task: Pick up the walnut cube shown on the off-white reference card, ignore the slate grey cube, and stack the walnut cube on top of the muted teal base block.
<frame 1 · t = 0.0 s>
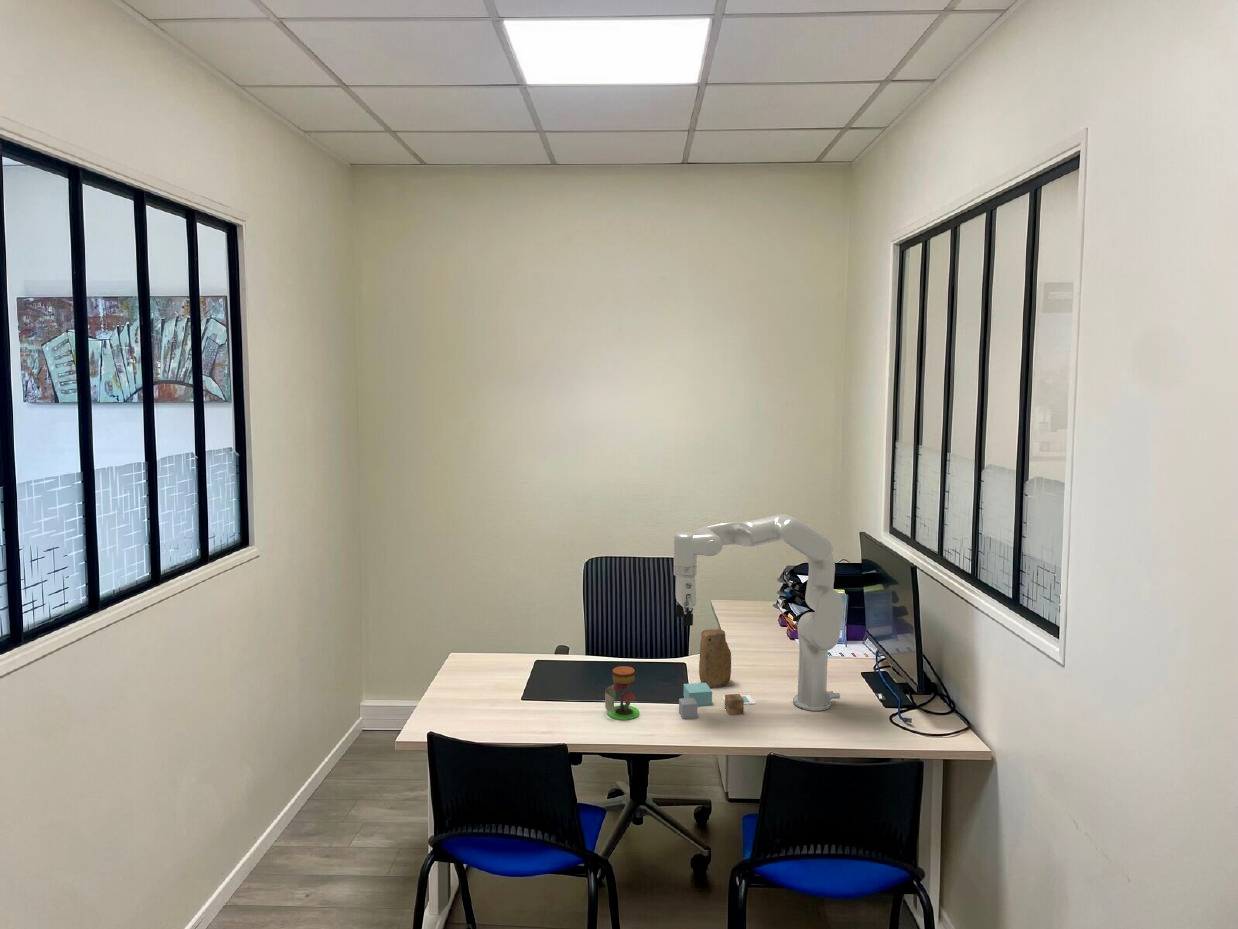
hand: (684, 620, 273), 31 cm above the table, tool pointing down, fingers open, 9 cm apart
green-based stack: (622, 713, 275), on the table
walnut cube: (734, 711, 277), on the table
slate grey cube: (688, 715, 274), on the table
reference card: (738, 701, 285), on the table
brown piece: (714, 684, 301), on the table
teal base block: (697, 701, 285), on the table
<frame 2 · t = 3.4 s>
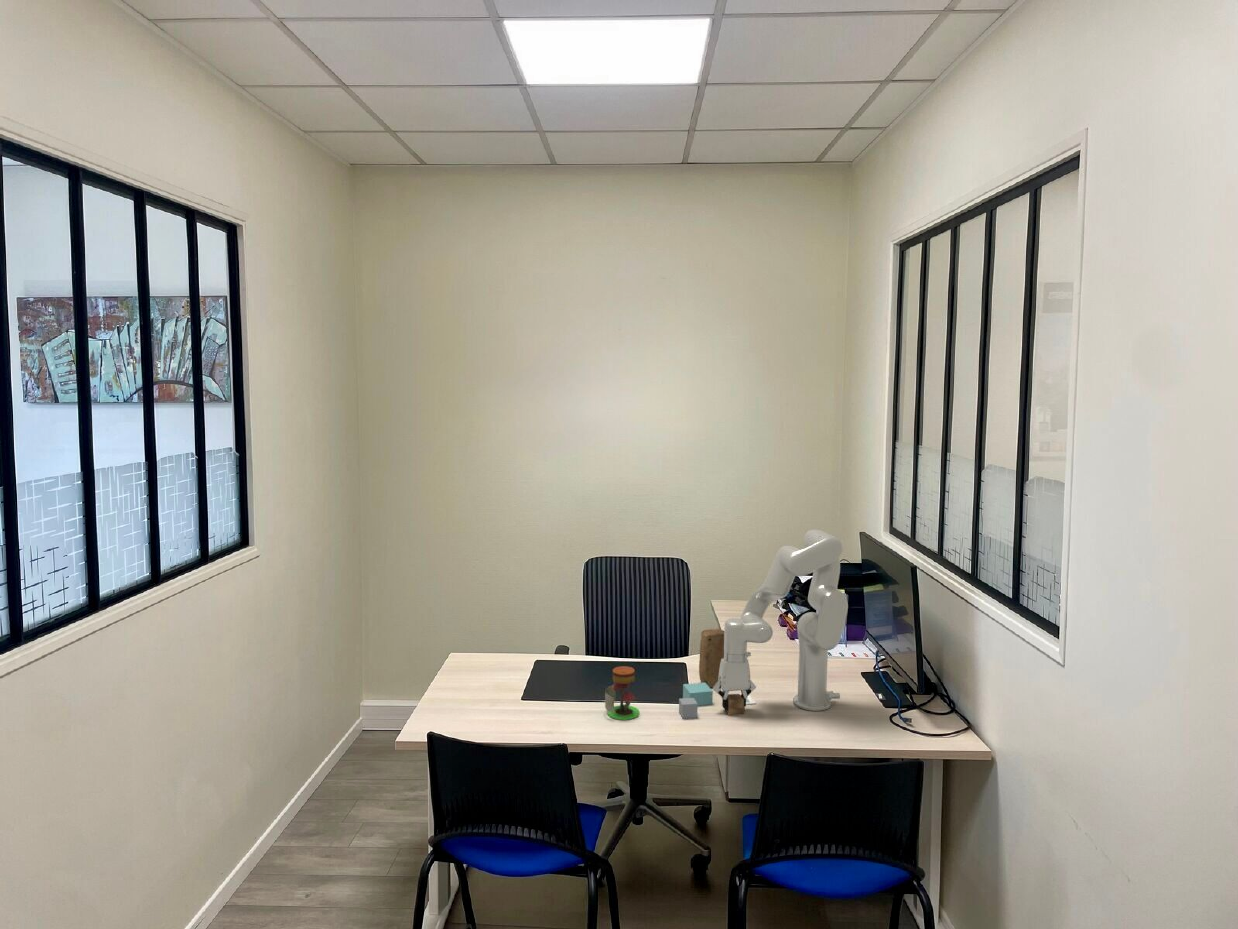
hand: (734, 708, 277), 1 cm above the table, tool pointing down, fingers closed on walnut cube, 5 cm apart
walnut cube: (733, 711, 277), on the table, touching gripper
everything else where it was.
when the fingers open (7 cm above the table, at t = 7.8 s): walnut cube drops 2 cm, resting on teal base block.
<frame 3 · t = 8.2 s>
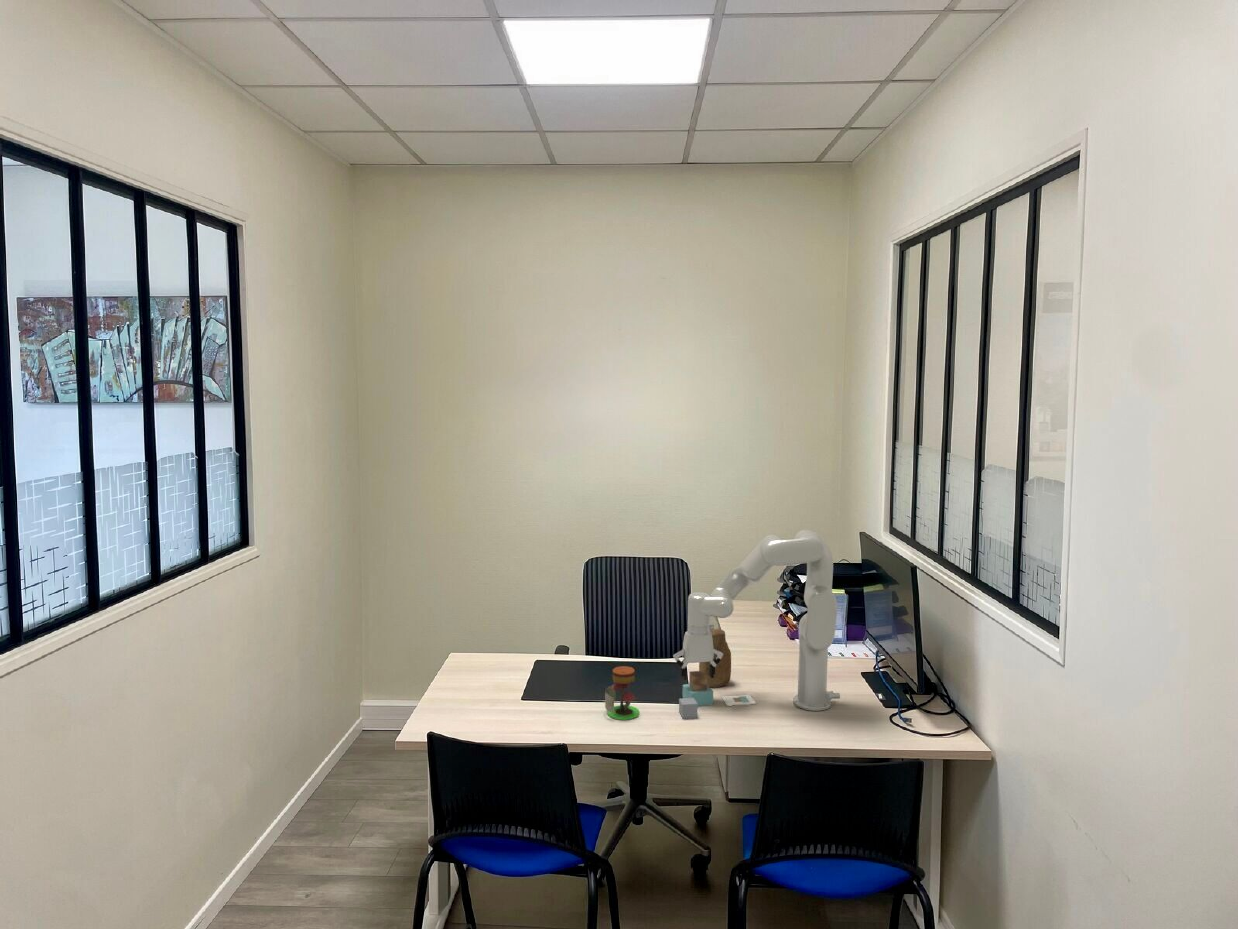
hand: (697, 677, 284), 8 cm above the table, tool pointing down, fingers open, 9 cm apart
walnut cube: (698, 687, 285), point 5 cm above the table, touching teal base block
teal base block: (697, 701, 285), on the table, touching walnut cube
everything else where it was.
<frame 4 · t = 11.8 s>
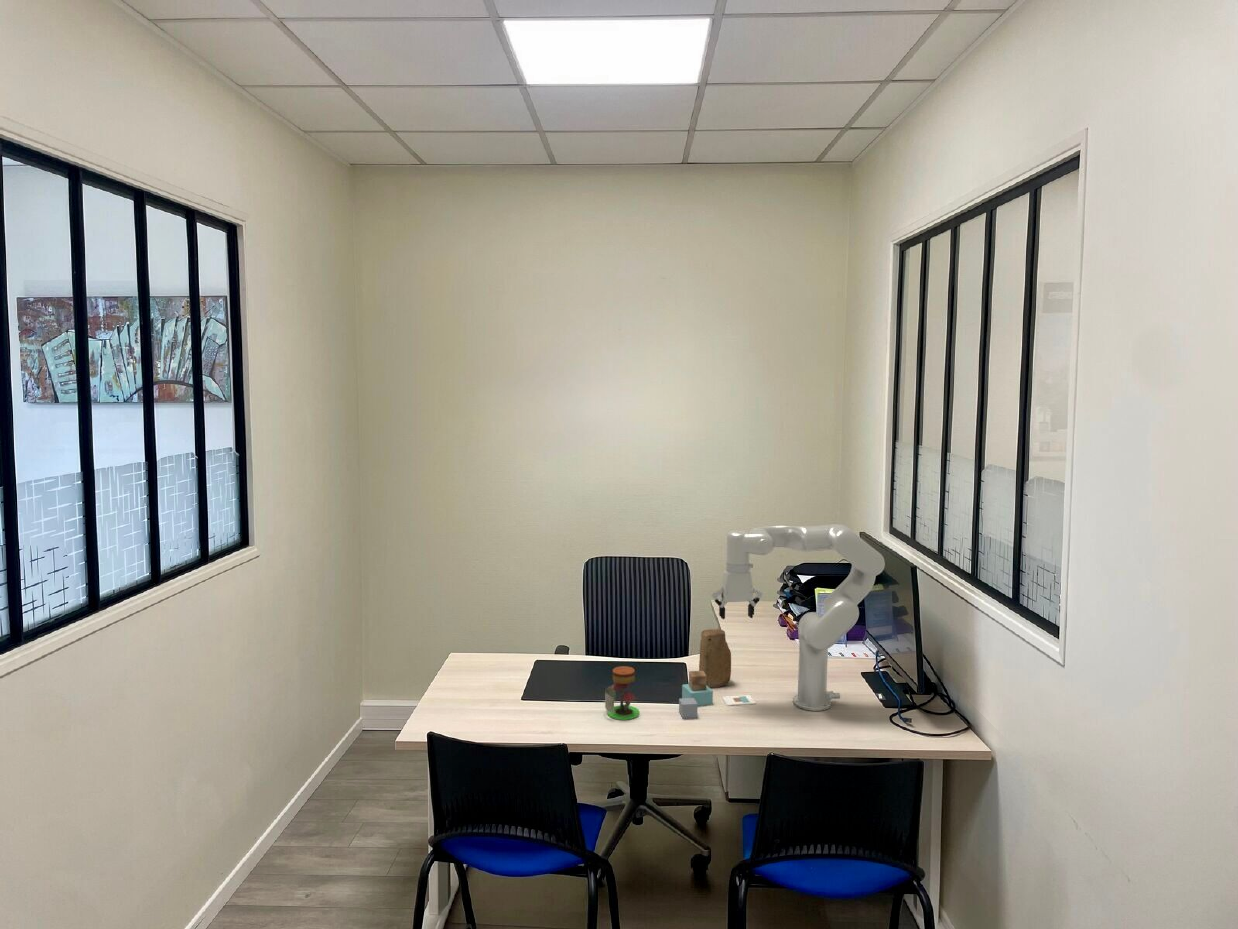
hand: (736, 617, 280), 30 cm above the table, tool pointing down, fingers open, 9 cm apart
nothing on the table moved.
at the end: walnut cube 0.1 cm off-centre on the teal base block, point 5.0 cm above the teal base block's base; walnut cube tilted 0°; the gripper is holding nothing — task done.
